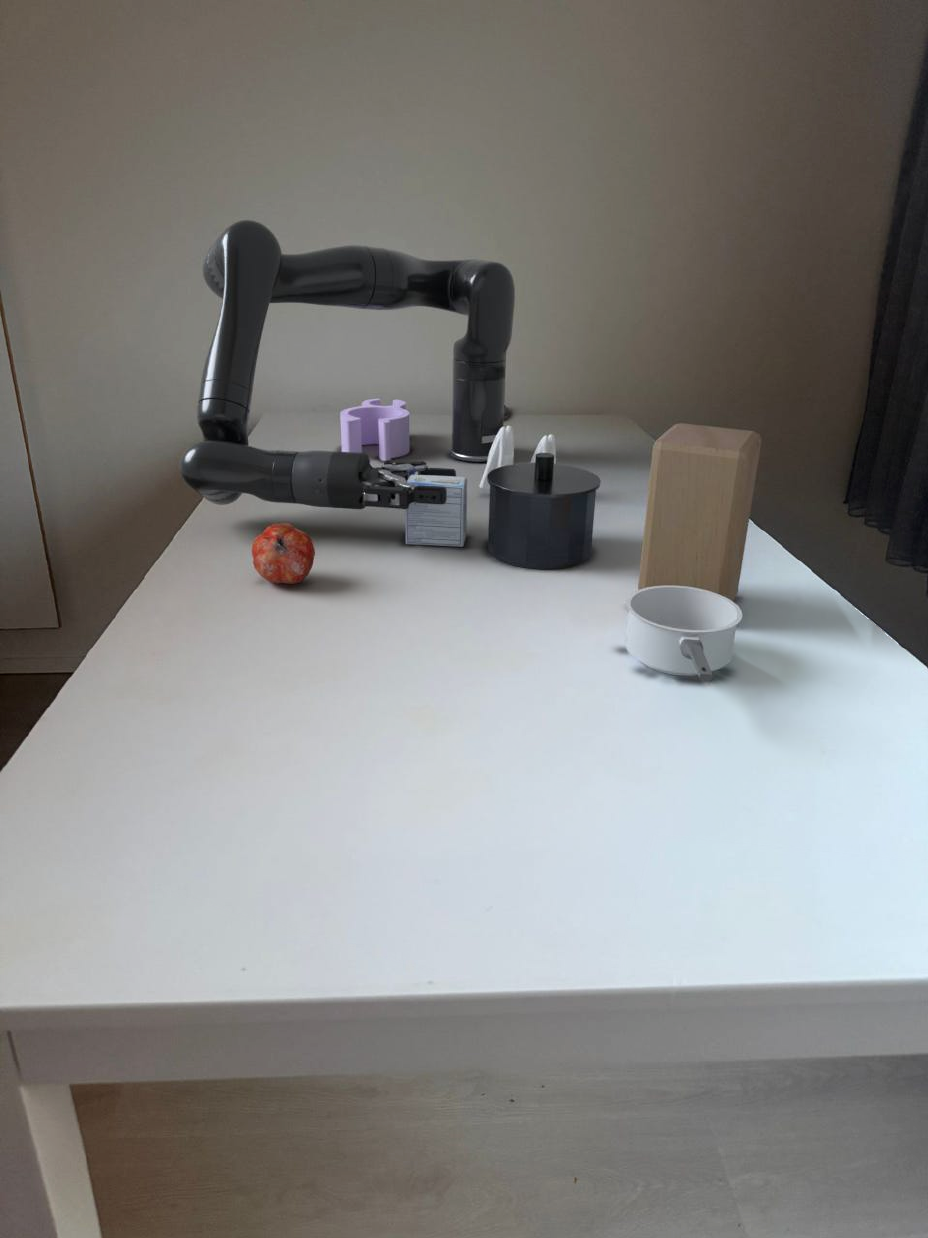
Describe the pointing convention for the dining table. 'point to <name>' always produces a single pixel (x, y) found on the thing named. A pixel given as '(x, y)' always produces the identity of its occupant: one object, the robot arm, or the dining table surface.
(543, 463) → the pot lid
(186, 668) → the dining table surface
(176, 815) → the dining table surface
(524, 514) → the pot
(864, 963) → the dining table surface
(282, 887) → the dining table surface
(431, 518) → the medicine box
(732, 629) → the saucepan
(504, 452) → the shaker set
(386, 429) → the clip
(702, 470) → the wooden block
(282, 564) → the pomegranate
